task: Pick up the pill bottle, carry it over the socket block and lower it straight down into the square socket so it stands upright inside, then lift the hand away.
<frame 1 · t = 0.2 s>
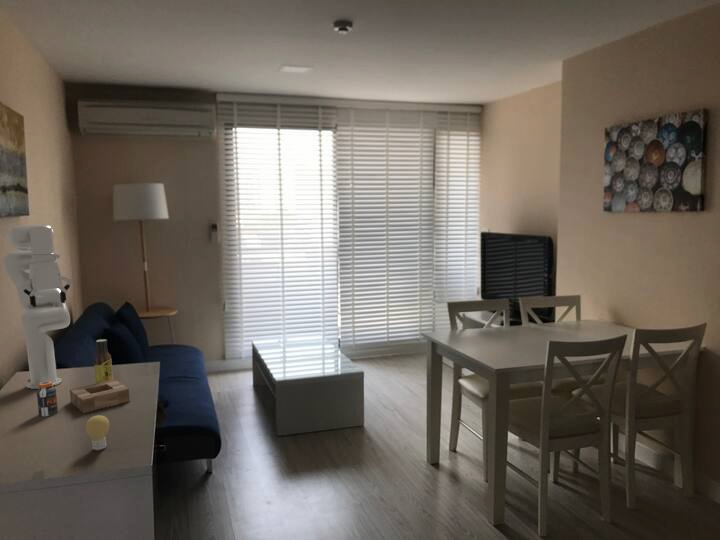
hand: (48, 304, 212), 36 cm above the table, tool pointing down, fingers open, 9 cm apart
pill bottle: (48, 414, 200), on the table
socket block: (100, 402, 211), on the table
sauce bottle: (105, 390, 225), on the table
light bulb: (99, 449, 169), on the table
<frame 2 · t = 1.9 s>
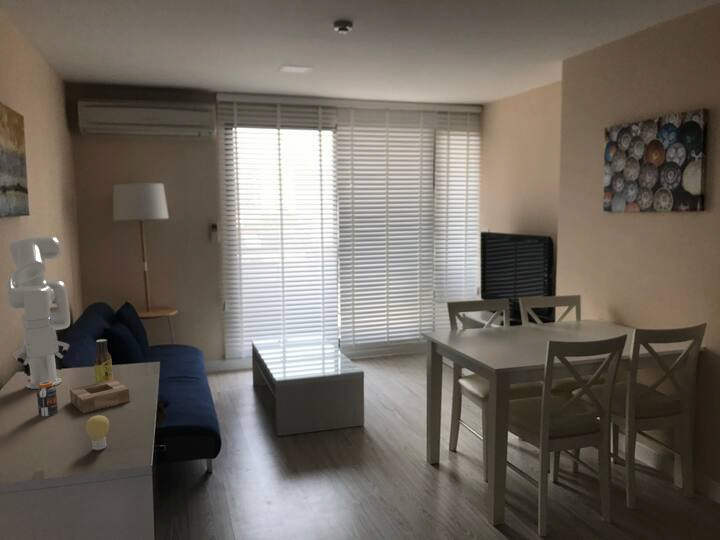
hand: (44, 372, 198), 15 cm above the table, tool pointing down, fingers open, 9 cm apart
nothing on the table moved.
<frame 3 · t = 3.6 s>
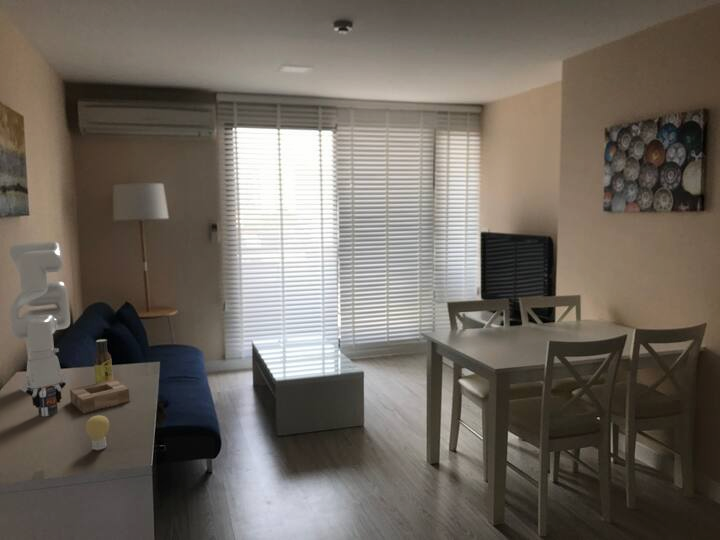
hand: (47, 403, 200), 4 cm above the table, tool pointing down, fingers closed on pill bottle, 6 cm apart
pill bottle: (48, 414, 200), on the table, touching gripper
everything else where it was.
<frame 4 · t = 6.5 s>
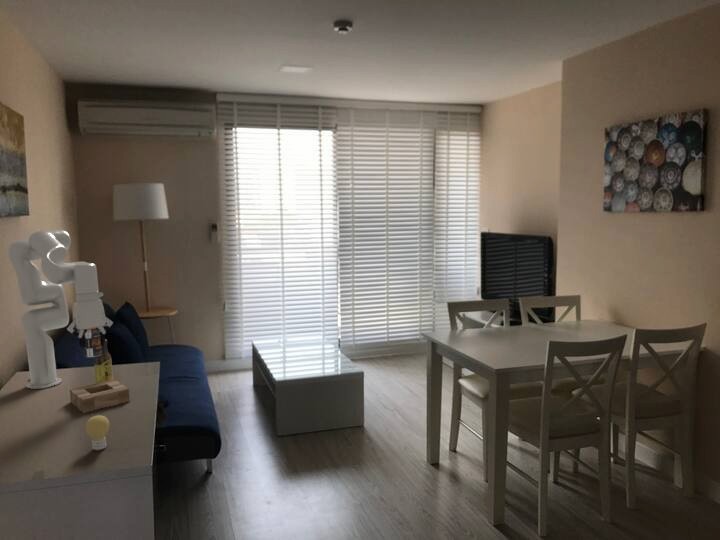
hand: (92, 345, 208), 21 cm above the table, tool pointing down, fingers closed on pill bottle, 6 cm apart
pill bottle: (93, 356, 208), point 18 cm above the table, touching gripper
everything else where it was.
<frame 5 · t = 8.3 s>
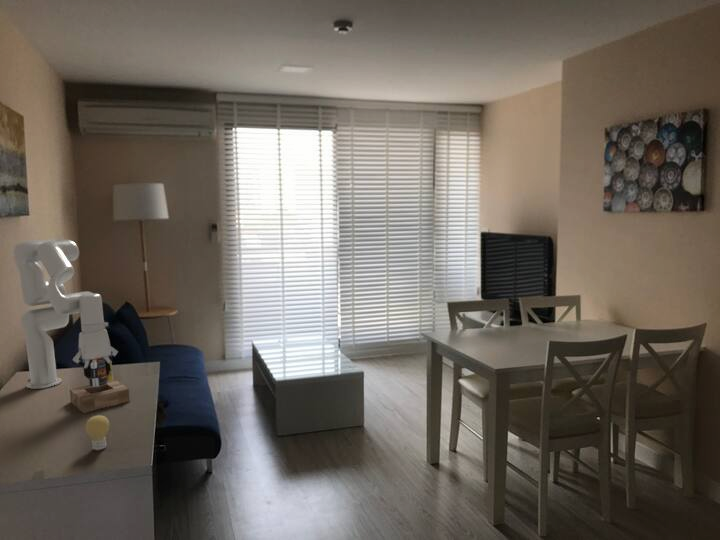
hand: (97, 375, 209), 10 cm above the table, tool pointing down, fingers closed on pill bottle, 6 cm apart
pill bottle: (98, 385, 210), point 6 cm above the table, touching gripper
everything else where it was.
when the fingers open (5 cm above the table, at t = 9.7 s): pill bottle drops 2 cm, resting in socket block.
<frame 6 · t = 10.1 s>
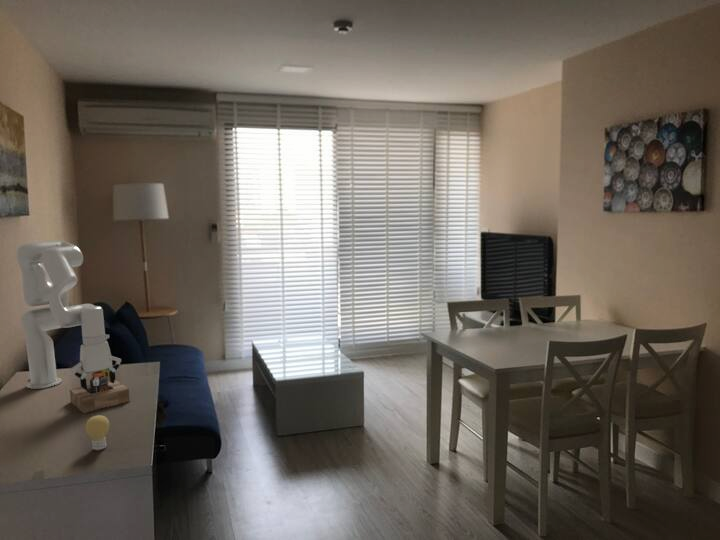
hand: (98, 385, 210), 6 cm above the table, tool pointing down, fingers open, 9 cm apart
pill bottle: (100, 402, 211), resting in socket block
everything else where it was.
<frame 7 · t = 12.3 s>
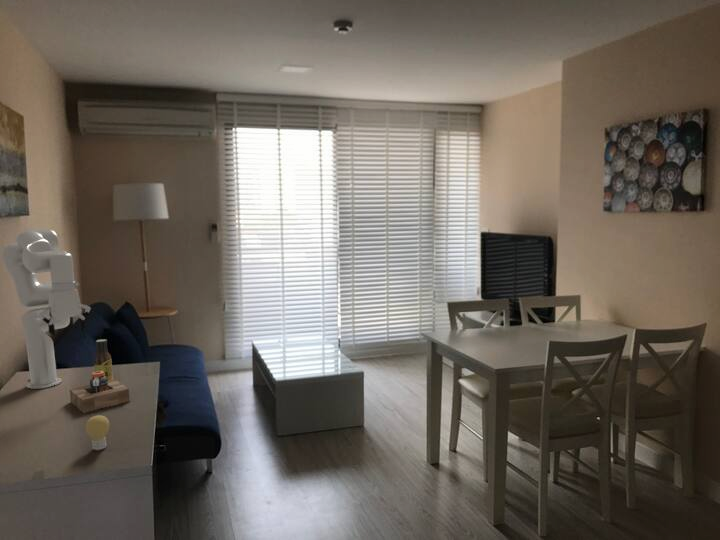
hand: (67, 332, 210), 26 cm above the table, tool pointing down, fingers open, 9 cm apart
nothing on the table moved.
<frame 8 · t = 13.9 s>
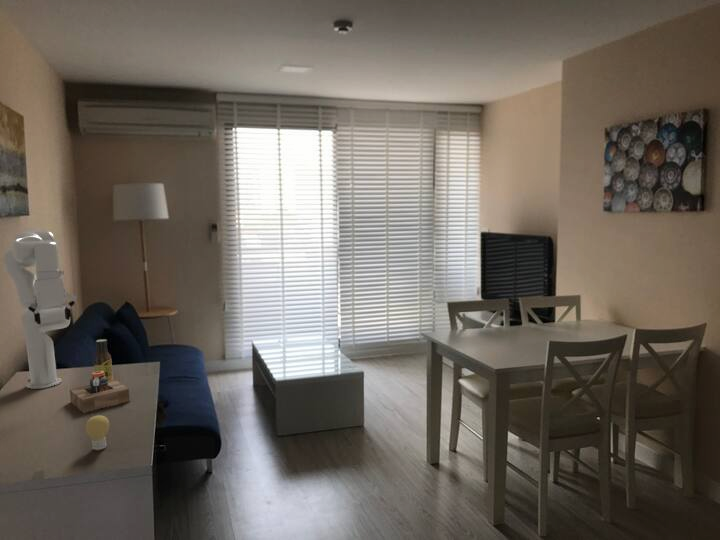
hand: (53, 321, 210), 30 cm above the table, tool pointing down, fingers open, 9 cm apart
nothing on the table moved.
at the end: pill bottle 0.1 cm off-centre on the socket block, point 0.0 cm above the socket block's base; pill bottle tilted 0°; the gripper is holding nothing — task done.
